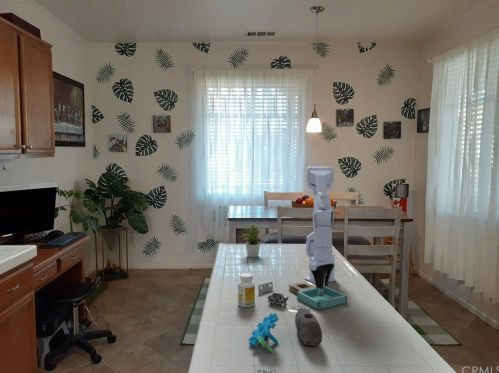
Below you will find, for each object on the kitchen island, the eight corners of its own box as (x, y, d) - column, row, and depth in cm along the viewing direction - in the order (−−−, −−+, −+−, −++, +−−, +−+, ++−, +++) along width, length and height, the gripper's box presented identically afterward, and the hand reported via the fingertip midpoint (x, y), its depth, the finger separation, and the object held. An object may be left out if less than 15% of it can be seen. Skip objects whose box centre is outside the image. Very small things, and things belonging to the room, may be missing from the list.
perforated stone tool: (290, 324, 106) (291, 300, 106) (308, 324, 107) (309, 300, 106) (302, 351, 91) (303, 324, 91) (323, 351, 92) (324, 323, 91)
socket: (304, 287, 137) (304, 281, 137) (317, 293, 131) (317, 287, 131) (289, 290, 134) (289, 284, 133) (301, 296, 128) (301, 290, 127)
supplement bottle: (256, 302, 123) (257, 273, 122) (251, 308, 118) (251, 278, 117) (241, 300, 124) (241, 271, 124) (235, 306, 119) (235, 276, 118)
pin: (318, 292, 126) (320, 269, 125) (326, 295, 124) (328, 272, 123) (313, 295, 124) (315, 271, 123) (321, 297, 122) (323, 274, 121)
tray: (324, 292, 131) (324, 285, 131) (347, 303, 122) (347, 295, 122) (297, 298, 125) (297, 291, 125) (318, 310, 116) (318, 302, 116)
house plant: (236, 251, 188) (236, 219, 187) (263, 251, 190) (263, 219, 188) (238, 259, 174) (238, 224, 173) (267, 258, 175) (268, 224, 174)
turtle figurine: (263, 308, 118) (263, 295, 118) (270, 301, 124) (270, 288, 124) (309, 317, 112) (309, 302, 112) (314, 309, 118) (315, 295, 118)
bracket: (278, 303, 123) (278, 293, 122) (258, 294, 130) (258, 285, 130) (292, 298, 127) (292, 288, 126) (272, 290, 135) (272, 281, 134)
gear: (250, 326, 101) (276, 304, 99) (266, 341, 101) (292, 320, 99) (242, 352, 91) (271, 328, 88) (259, 369, 91) (289, 346, 88)
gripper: (321, 240, 130) (321, 278, 131) (300, 248, 119) (300, 290, 120) (340, 243, 126) (339, 282, 127) (320, 251, 115) (320, 294, 116)
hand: (321, 286), depth 123 cm, fingers closed on pin, 3 cm apart
